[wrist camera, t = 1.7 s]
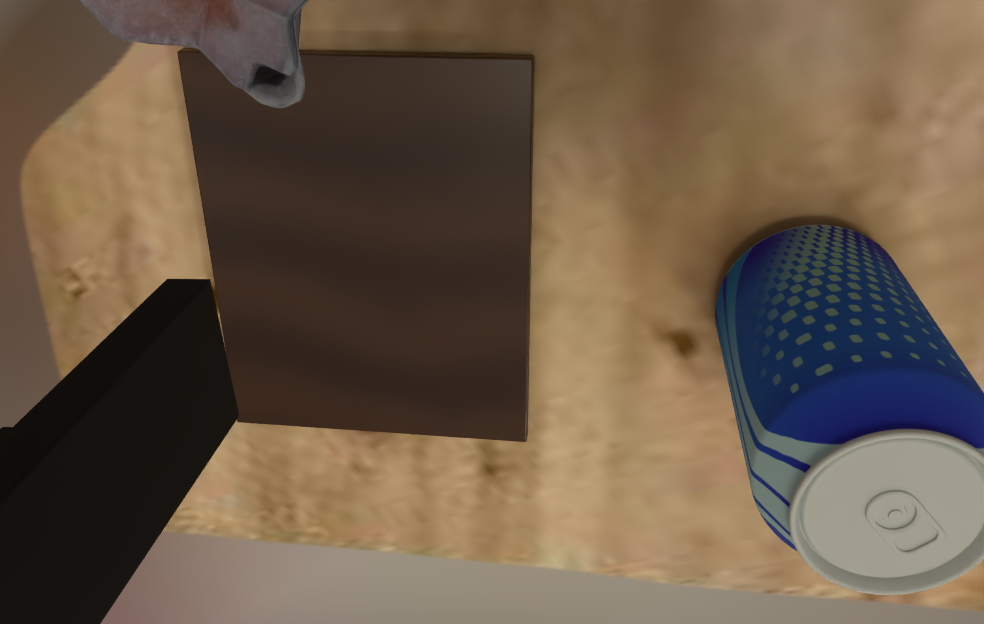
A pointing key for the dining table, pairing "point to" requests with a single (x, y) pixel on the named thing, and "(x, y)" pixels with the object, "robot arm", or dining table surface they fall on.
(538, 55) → the dining table surface
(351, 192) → the walnut trivet
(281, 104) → the moka pot
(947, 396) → the beer can
